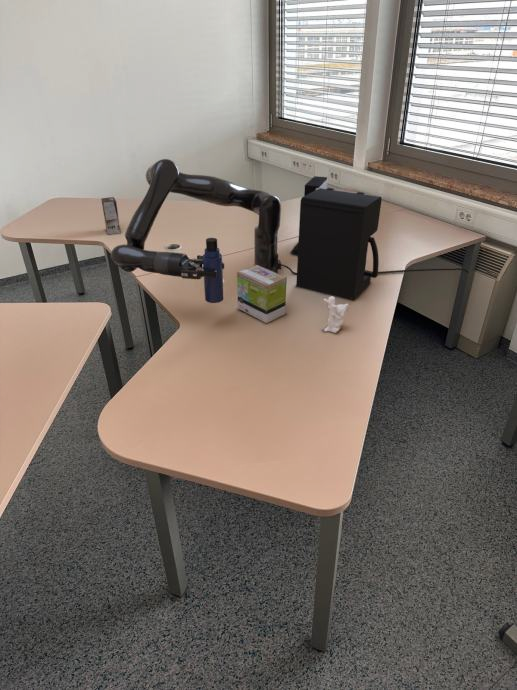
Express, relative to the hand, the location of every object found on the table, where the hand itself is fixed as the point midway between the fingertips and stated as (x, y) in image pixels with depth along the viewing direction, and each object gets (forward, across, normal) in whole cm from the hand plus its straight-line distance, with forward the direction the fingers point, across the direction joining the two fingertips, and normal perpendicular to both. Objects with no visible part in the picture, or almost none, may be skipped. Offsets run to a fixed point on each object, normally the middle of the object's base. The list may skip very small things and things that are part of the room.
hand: (220, 269), depth 152 cm
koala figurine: (+36, +9, +21) cm, 43 cm away
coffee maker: (+33, +45, +21) cm, 59 cm away
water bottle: (-2, 0, +10) cm, 11 cm away
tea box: (+10, +14, +21) cm, 27 cm away
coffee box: (-88, +78, +22) cm, 119 cm away
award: (+16, +87, +22) cm, 91 cm away
